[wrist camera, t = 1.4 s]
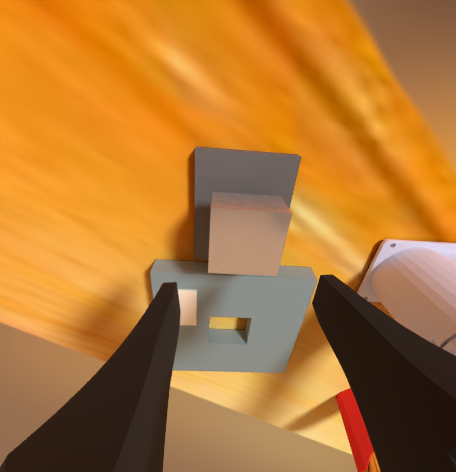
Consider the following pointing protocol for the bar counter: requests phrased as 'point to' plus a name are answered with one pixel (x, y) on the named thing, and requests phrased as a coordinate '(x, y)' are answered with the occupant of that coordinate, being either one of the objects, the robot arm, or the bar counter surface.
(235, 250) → the tan cubic block
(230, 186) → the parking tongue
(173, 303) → the robot arm
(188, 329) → the hole plate
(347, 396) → the french fries
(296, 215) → the bar counter surface
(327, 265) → the bar counter surface
